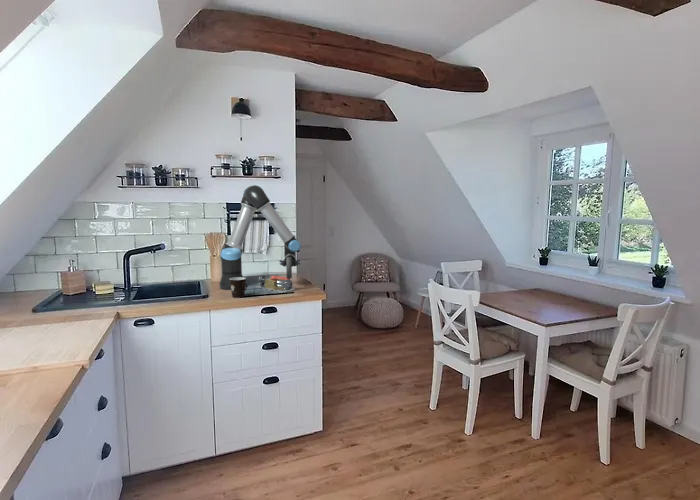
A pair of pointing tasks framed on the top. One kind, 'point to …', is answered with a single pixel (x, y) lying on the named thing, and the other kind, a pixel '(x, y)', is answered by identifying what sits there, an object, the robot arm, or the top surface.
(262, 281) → the valve
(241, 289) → the coffee mug
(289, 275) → the lever
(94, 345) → the top surface
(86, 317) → the top surface
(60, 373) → the top surface
